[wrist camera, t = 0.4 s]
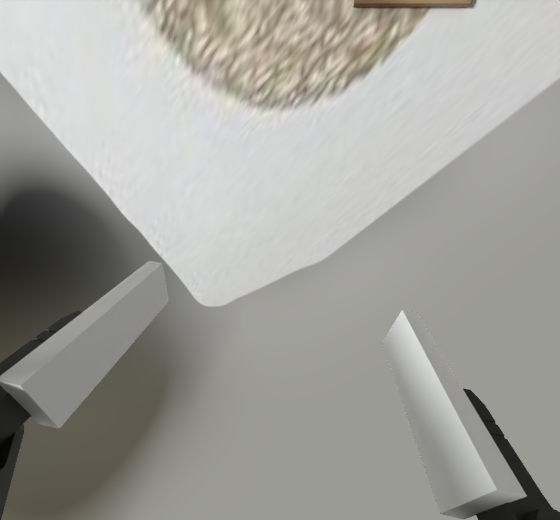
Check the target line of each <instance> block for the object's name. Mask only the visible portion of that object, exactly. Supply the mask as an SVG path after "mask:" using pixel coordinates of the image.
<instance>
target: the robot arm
mask: <svg viewBox="0 0 560 520" xmlns="http://www.w3.org/2000/svg"><path fill="white" fill-rule="evenodd" d="M168 301H169V299H168V294H167V287H166V282H165V276H164V270H163V264H162V263H157V262H152V261H148V262H147V263H146V264H144V265H143V266H142V267H140V268H139V269H138V270H137V271H135V272H134V273H133V274H131V275H130V276H129V277H128V278H126V279H125V280H124V281H122V282H121V283H120V284H119V285H117V286H116V287H115V288H113V289H112V290H111V291H109V292H108V293H107V294H106V295H104V296H103V297H102V298H100V299H99V300H98V301H97V302H95V303H94V304H93V305H92V306H90V307H89V308H88V309H86V310H85V311H84V312H81V311H76V312H74V313H72V314H70V315H68V316H65V317H64V318H61V319H60V320H58V321H57V322H56V323H54V324H53V325H52V326H50V327H49V328H47V330H46V331H43V332H42V333H41V334H39V335H38V336H37V337H35V339H34V340H31V341H30V342H28V343H27V344H26V345H24V346H23V347H21V348H20V349H19V350H17V351H16V352H15V353H13V354H12V355H11V356H9V357H8V358H7V359H5V360H4V361H2V362H1V363H0V520H1V518H2V514H3V510H4V506H5V503H6V499H7V495H8V491H9V487H10V483H11V480H12V476H13V472H14V468H15V464H16V460H17V457H18V453H19V449H20V445H21V442H22V438H23V434H24V425H23V423H24V422H25V421H26V420H27V419H28V418H29V417H30V416H31V417H32V418H33V419H34V420H35V421H36V422H37V423H38V424H41V425H46V426H50V427H55V428H60V427H61V426H62V425H63V424H64V423H65V421H66V420H67V419H68V418H69V417H70V415H71V414H72V413H73V412H74V411H75V410H76V409H77V407H78V406H79V405H80V404H81V403H82V401H83V400H84V399H85V398H86V397H87V396H88V395H89V393H90V392H91V391H92V390H93V389H94V388H95V386H96V385H97V384H98V383H99V382H100V381H101V380H102V378H103V377H104V376H105V375H106V374H107V372H108V371H109V370H110V369H111V368H112V367H113V365H114V364H115V363H116V362H117V361H118V359H119V358H120V357H121V356H122V355H123V354H124V353H125V351H126V350H127V349H128V348H129V347H130V346H131V344H132V343H133V342H134V341H135V340H136V339H137V337H138V336H139V335H140V334H141V333H142V332H143V330H144V329H145V328H146V327H147V326H148V325H149V323H150V322H151V321H152V320H153V319H154V318H155V317H156V315H157V314H158V313H159V312H160V311H161V309H162V308H163V307H164V306H165V305H166V304H167V303H168ZM382 345H383V348H384V351H385V354H386V357H387V360H388V362H389V365H390V368H391V371H392V374H393V377H394V380H395V383H396V386H397V389H398V392H399V394H400V397H401V400H402V403H403V406H404V409H405V412H406V415H407V418H408V421H409V424H410V426H411V430H412V432H413V435H414V438H415V441H416V444H417V447H418V450H419V453H420V456H421V459H422V462H423V465H424V467H425V470H426V473H427V476H428V479H429V482H430V485H431V488H432V491H433V494H434V497H435V500H436V502H437V505H438V508H439V511H440V514H443V515H448V516H452V517H457V518H462V519H466V518H468V517H472V516H474V515H476V516H477V518H478V520H560V512H558V511H557V510H554V509H553V508H552V507H551V506H550V504H549V503H548V502H547V500H546V499H545V497H544V496H543V495H542V493H541V492H540V490H539V488H538V487H537V485H536V484H535V482H534V481H533V479H532V478H531V476H530V474H529V473H528V472H527V470H526V468H525V467H524V465H523V463H522V462H521V460H520V459H519V457H518V456H517V454H516V453H515V451H514V450H513V448H512V447H511V445H510V443H509V442H508V440H507V439H505V438H504V434H503V433H502V431H501V429H500V428H499V427H498V425H496V424H495V420H494V419H493V417H492V416H491V414H490V412H489V411H488V409H487V408H486V406H485V405H484V404H483V403H482V402H481V401H480V399H479V398H478V397H477V396H475V394H474V393H473V392H472V391H471V390H468V389H463V388H462V387H461V385H460V384H459V382H458V380H457V378H456V377H455V375H454V373H453V372H452V370H451V369H450V367H449V365H448V364H447V362H446V360H445V359H444V357H443V355H442V354H441V352H440V350H439V349H438V347H437V345H436V344H435V342H434V340H433V339H432V337H431V335H430V334H429V332H428V330H427V329H426V327H425V325H424V324H423V322H422V320H421V319H420V317H419V315H418V314H417V313H416V312H412V311H407V310H402V311H401V313H400V314H399V316H398V318H397V319H396V321H395V323H394V324H393V326H392V327H391V329H390V331H389V332H388V334H387V336H386V337H385V339H384V341H383V343H382Z"/></svg>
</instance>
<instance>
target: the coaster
mask: <svg viewBox="0 0 560 520" xmlns="http://www.w3.org/2000/svg"><path fill="white" fill-rule="evenodd" d="M471 1H472V0H355V1H354V7H467V6H468V5H469V4H471Z"/></svg>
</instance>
